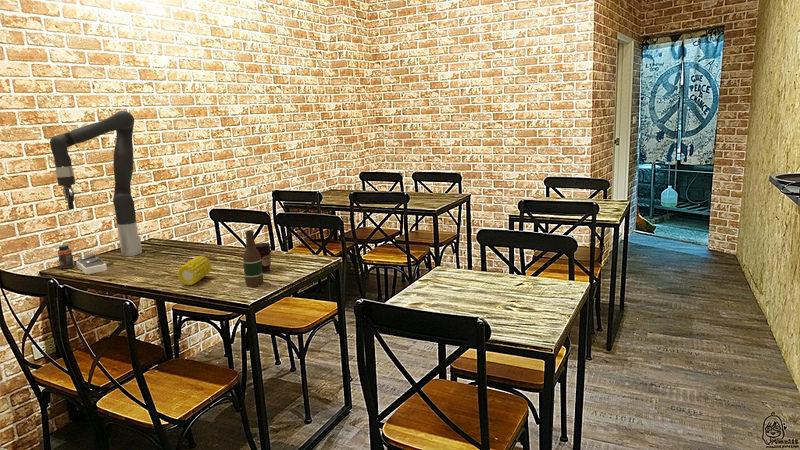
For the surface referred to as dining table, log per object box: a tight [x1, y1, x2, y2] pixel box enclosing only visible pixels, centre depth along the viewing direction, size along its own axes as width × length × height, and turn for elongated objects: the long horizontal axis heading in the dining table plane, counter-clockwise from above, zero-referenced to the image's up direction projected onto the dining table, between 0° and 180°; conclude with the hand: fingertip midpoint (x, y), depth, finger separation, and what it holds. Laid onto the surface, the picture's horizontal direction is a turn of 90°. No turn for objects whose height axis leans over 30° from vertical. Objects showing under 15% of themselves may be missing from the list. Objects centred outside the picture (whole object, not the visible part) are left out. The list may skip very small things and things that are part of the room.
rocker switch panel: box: [75, 254, 114, 275], centre depth 263 cm, size 14×18×5 cm
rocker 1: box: [79, 252, 97, 260], centre depth 264 cm, size 6×4×2 cm
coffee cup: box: [255, 242, 272, 274], centre depth 248 cm, size 9×8×13 cm
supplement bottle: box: [57, 244, 75, 270], centre depth 263 cm, size 6×6×11 cm
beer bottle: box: [242, 229, 264, 287], centre depth 229 cm, size 8×8×24 cm
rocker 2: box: [85, 256, 102, 264], centre depth 257 cm, size 6×4×2 cm
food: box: [177, 255, 212, 286], centre depth 238 cm, size 15×12×10 cm
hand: (71, 209), depth 271 cm, fingers closed
